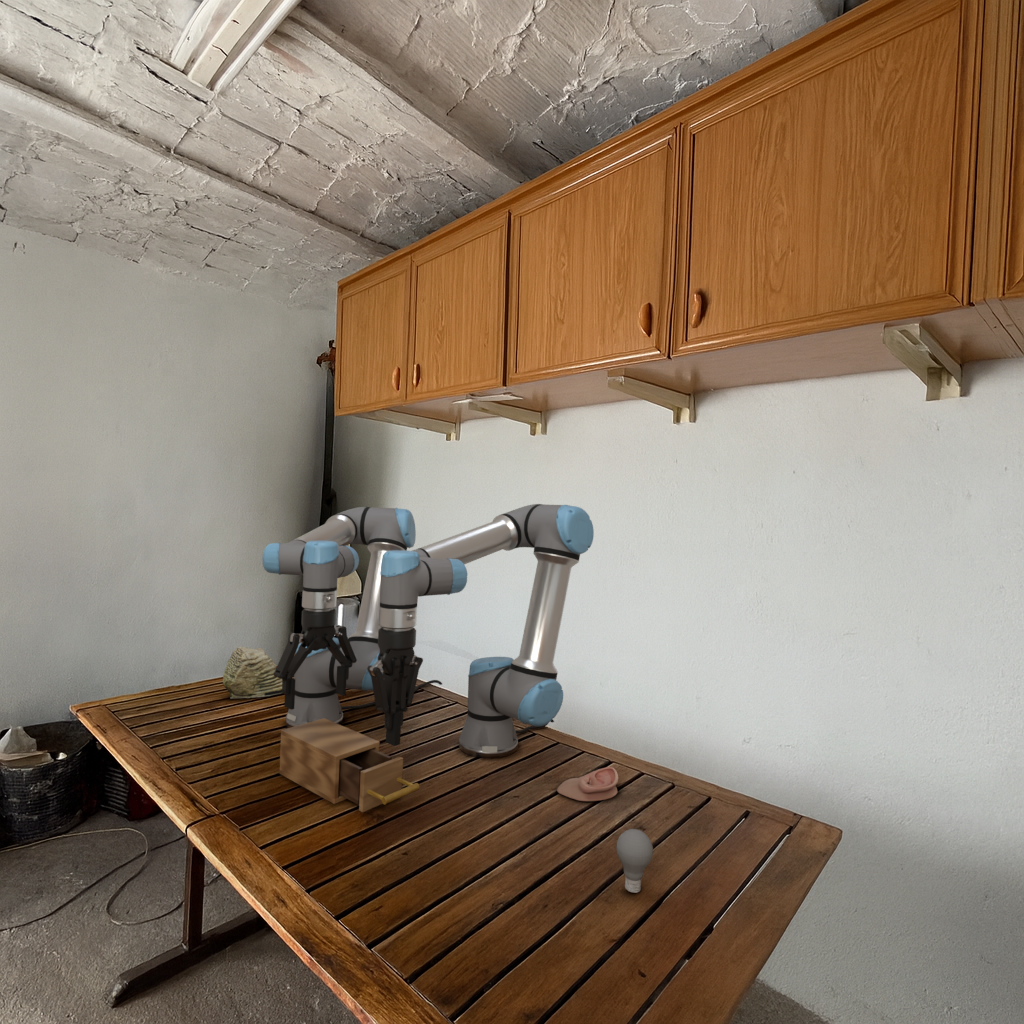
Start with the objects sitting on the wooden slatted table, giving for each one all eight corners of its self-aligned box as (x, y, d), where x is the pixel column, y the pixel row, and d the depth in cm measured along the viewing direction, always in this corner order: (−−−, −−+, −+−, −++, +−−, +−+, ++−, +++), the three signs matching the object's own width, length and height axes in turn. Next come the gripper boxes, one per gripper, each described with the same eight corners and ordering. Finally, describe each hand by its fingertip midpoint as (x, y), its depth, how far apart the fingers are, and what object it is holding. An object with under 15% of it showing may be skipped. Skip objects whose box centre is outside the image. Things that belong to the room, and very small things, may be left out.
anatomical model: (555, 779, 137) (562, 758, 149) (554, 797, 138) (561, 775, 149) (617, 787, 135) (619, 766, 146) (616, 806, 135) (618, 783, 146)
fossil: (218, 695, 195) (220, 647, 195) (278, 685, 208) (279, 640, 207) (228, 703, 189) (230, 653, 188) (289, 692, 201) (290, 645, 201)
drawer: (421, 805, 130) (423, 766, 130) (382, 823, 122) (383, 782, 122) (345, 767, 146) (347, 733, 146) (306, 782, 138) (308, 745, 138)
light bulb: (610, 879, 108) (613, 822, 108) (644, 879, 109) (647, 822, 109) (619, 902, 102) (622, 840, 102) (655, 901, 103) (658, 840, 103)
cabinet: (377, 786, 140) (379, 741, 140) (334, 804, 131) (335, 756, 131) (322, 759, 153) (324, 718, 152) (279, 773, 144) (280, 730, 144)
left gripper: (278, 617, 132) (275, 718, 133) (373, 605, 152) (370, 692, 152) (259, 612, 137) (256, 709, 138) (353, 600, 157) (350, 685, 157)
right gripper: (384, 635, 120) (379, 757, 121) (433, 626, 131) (429, 739, 131) (359, 628, 125) (354, 747, 126) (409, 620, 135) (404, 730, 136)
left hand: (316, 700), depth 145 cm, fingers open, 13 cm apart
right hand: (392, 743), depth 128 cm, fingers closed
